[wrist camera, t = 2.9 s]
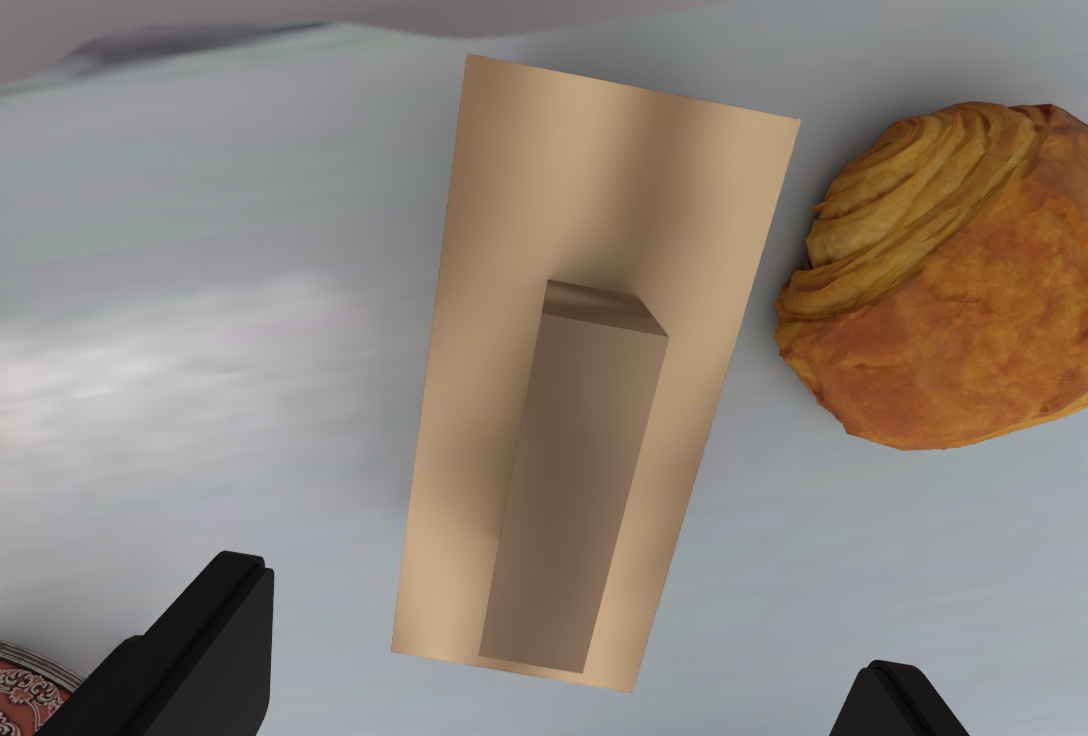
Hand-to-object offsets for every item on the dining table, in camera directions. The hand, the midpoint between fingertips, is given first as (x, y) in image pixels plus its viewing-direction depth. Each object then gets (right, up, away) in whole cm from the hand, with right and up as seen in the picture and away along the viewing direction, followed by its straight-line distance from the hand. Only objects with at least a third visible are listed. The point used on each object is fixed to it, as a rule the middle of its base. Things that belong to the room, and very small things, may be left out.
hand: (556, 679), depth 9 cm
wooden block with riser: (+1, +3, +12) cm, 12 cm away
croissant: (+18, +9, +18) cm, 27 cm away
